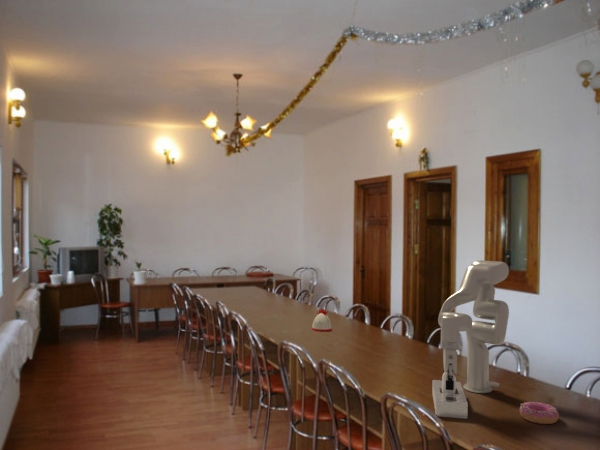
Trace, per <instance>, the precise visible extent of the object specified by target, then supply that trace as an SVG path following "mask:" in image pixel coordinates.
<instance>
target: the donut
mask: <svg viewBox="0 0 600 450" xmlns="http://www.w3.org/2000/svg"><path fill="white" fill-rule="evenodd" d="M519 414H520V416H521V417H522V418H523V419H524V420H526V421H528V422H531V423H534V424H538V425H539V424H540V425H552V424H555V423H557V422H558V420H559V416H560V414H559V411H558V409H557V408H556V407H554V406H553V405H550V404H547V403H544V402H541V401H536V402H535V401H525V402H523V403H520V407H519Z"/></svg>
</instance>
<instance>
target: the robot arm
mask: <svg viewBox="0 0 600 450" xmlns="http://www.w3.org/2000/svg"><path fill="white" fill-rule="evenodd" d="M509 269H510V268H509V265H508V264H507V263H506V262H505V261H498V260H497V261H496V260H494V261H493V260H474V261H472V263H470V265H469V266H467V267H466V269H465V271H464V273H463V274H464V275H463V277H462V280H461V282H460V285H459V289H458V290H457V291H456V292H454V293H453V294H452V295H450V296H449V297H448V298H447V299H446V300H445V301H444V302H443V304H442V306H441V309H440V310H439V314H438V318H437V321H438V325H439V326H440V349H442V350H443V353H442V354H443V355H442V359H443V360H442V361H443V370H444V372H445V373H446V376H447V380H446V390H454V380H453V374H454V375H457V374H458V365H457V364H458V354H457V353H458V352H457V351H459V349H460V332H465V335H466V342H467V343H466V344H467V345H466V346H467V354H466V355H467V360H466V361H467V362H466V363H467V366H466V383H464V384H463V387H462V389H463V390H466V391H468V392H471V393H476V394H487V393H491V392H492V391H493V388H500V382H495V381H490V380H489V379H490V378H489V372H490V367H489V365H490V350H489V349H488V347H487V345H486V344H490V345H496V346H500V345H503V344H504V342H505V340H506V334H507V329H508V323H509V318H510V307H509V305H508V303H507V302H506V301H504V300H500V299H499V300H498V299H495V295H496V289H495V287H494V285H497V284H499V283H501V282H503V281H504V280H506V279H507V277H508V276H509V274H510V273H509V272H510V270H509ZM471 302H473V308H472V315H473V316H474V317H475V318H477V319H481V320H473V319H472V317H471V316H470V314H468V313H467V314H466V313H462V312H454V311H453V310H454V309H455V308H457V307H458V306H462V305H466V304H469V303H471ZM483 320H487V321H483ZM488 321H489V322H488ZM490 321H494V322H490ZM448 371H449V373H448ZM448 374H449V375H448Z"/></svg>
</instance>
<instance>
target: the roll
mask: <svg viewBox="0 0 600 450" xmlns="http://www.w3.org/2000/svg"><path fill="white" fill-rule="evenodd" d="M448 373H449V371H448ZM448 375H449V374H448ZM441 380H442V393H448V394H455V391H456V382H457V377H456V374H455V373H453V380H454V390H446V380H447V376H446V373H445V371H444V372H443V374H442V376H441Z"/></svg>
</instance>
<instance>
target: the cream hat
mask: <svg viewBox="0 0 600 450" xmlns="http://www.w3.org/2000/svg"><path fill="white" fill-rule="evenodd" d="M316 313H317V315H316V316H315V318H314V319H313V321H312V324H311V325H312V326H311V330H312V331H313V330H314V331H313V332H318V331H324V332H325V331H327V332H331V331H332V329H333V328H332V323H331V319H330V318H329V317H328V315H327V314H328V311H327V310H326V309H324V308H320V309H319V310H318V311H317V312H316ZM324 332H323V333H324ZM325 333H326V332H325Z"/></svg>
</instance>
